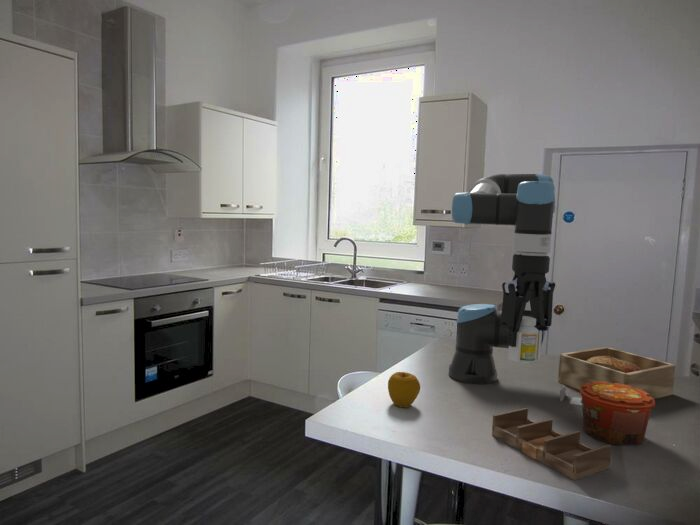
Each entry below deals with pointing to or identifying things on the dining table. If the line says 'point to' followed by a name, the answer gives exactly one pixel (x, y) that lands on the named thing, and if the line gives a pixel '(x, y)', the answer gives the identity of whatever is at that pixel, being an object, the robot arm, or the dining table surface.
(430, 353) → the dining table surface
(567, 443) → the rack
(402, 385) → the apple
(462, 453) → the dining table surface
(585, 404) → the food container
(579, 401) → the bracket
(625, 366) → the bread
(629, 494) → the dining table surface
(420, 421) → the dining table surface
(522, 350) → the supplement bottle
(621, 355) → the bread crate
